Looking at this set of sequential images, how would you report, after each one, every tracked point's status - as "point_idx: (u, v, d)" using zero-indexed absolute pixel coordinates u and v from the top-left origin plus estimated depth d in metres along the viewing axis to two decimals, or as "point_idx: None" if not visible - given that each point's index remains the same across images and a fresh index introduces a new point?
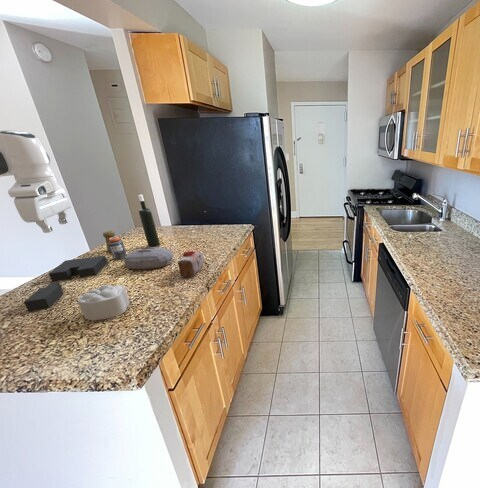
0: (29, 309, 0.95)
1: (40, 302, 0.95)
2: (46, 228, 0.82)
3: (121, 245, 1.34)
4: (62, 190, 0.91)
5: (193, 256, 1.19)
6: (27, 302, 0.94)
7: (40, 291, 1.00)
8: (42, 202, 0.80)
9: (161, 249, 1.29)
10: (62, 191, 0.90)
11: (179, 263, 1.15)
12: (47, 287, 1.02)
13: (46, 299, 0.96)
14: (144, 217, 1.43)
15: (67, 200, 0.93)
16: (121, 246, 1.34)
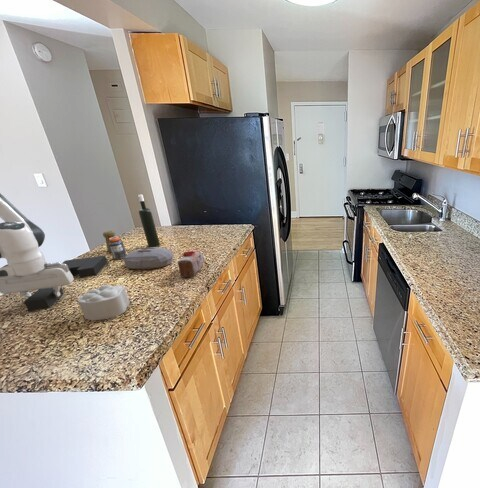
0: (29, 309, 0.95)
1: (40, 302, 0.95)
2: None
3: (121, 245, 1.34)
4: (56, 270, 0.96)
5: (193, 256, 1.19)
6: (27, 302, 0.94)
7: (40, 291, 1.00)
8: (14, 280, 0.93)
9: (161, 249, 1.29)
10: (55, 272, 0.96)
11: (179, 263, 1.15)
12: None
13: (46, 299, 0.96)
14: (144, 217, 1.43)
15: (62, 279, 0.98)
16: (121, 246, 1.34)
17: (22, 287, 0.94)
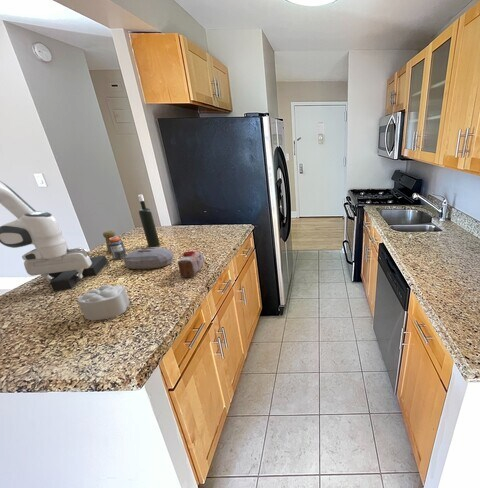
0: (54, 289, 1.07)
1: (64, 284, 1.07)
2: None
3: (121, 245, 1.34)
4: (77, 255, 1.08)
5: (193, 256, 1.19)
6: (52, 283, 1.06)
7: (62, 274, 1.12)
8: (41, 263, 1.05)
9: (161, 249, 1.29)
10: (76, 256, 1.08)
11: (179, 263, 1.15)
12: (68, 271, 1.15)
13: (69, 281, 1.08)
14: (144, 217, 1.43)
15: (82, 263, 1.10)
16: (121, 246, 1.34)
17: (47, 269, 1.06)
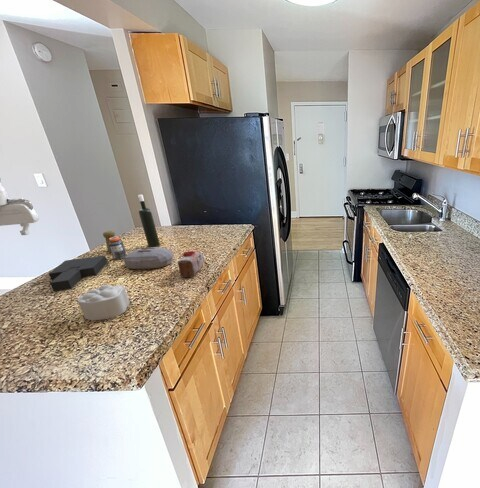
0: (54, 289, 1.07)
1: (64, 284, 1.07)
2: None
3: (121, 245, 1.34)
4: (19, 206, 0.95)
5: (193, 256, 1.19)
6: (52, 283, 1.06)
7: (62, 274, 1.12)
8: None
9: (161, 249, 1.29)
10: (18, 208, 0.95)
11: (179, 263, 1.15)
12: (68, 271, 1.15)
13: (69, 281, 1.08)
14: (144, 217, 1.43)
15: (26, 216, 0.97)
16: (121, 246, 1.34)
17: None
